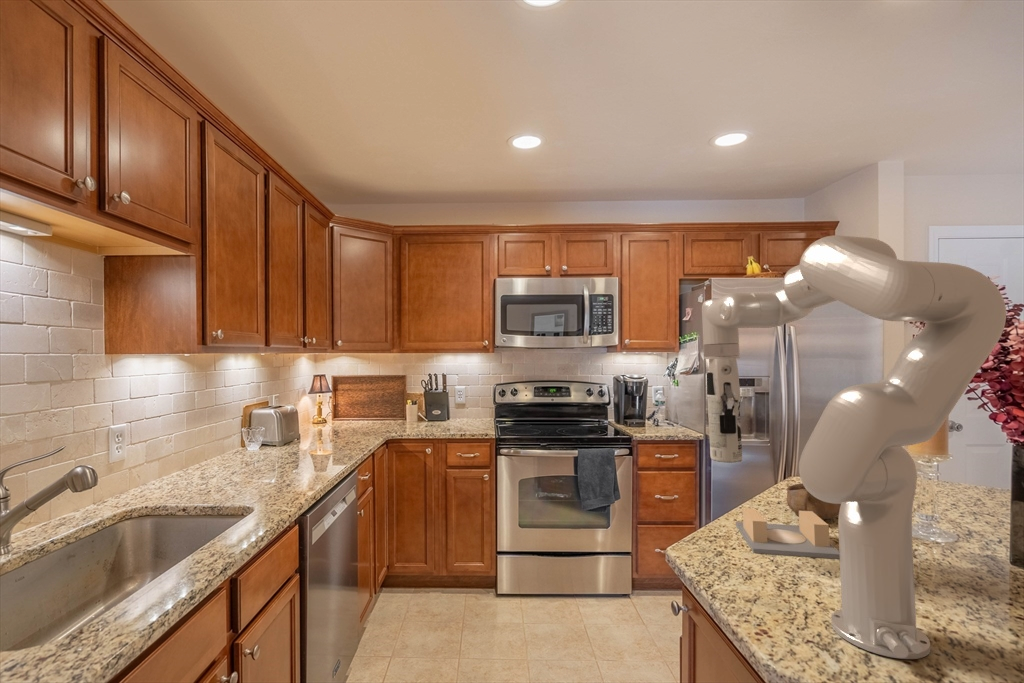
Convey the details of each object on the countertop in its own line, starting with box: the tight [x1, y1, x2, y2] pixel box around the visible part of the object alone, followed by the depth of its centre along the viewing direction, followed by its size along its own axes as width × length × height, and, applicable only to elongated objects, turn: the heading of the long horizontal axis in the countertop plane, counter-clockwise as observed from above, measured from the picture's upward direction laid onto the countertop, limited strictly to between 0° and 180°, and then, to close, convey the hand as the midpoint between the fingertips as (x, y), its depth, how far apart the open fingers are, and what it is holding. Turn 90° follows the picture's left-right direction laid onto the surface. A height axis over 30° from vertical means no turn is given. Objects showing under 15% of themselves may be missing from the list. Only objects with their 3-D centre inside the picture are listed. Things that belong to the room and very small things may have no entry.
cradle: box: [735, 507, 840, 560], centre depth 116 cm, size 18×18×6 cm
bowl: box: [786, 482, 841, 521], centre depth 131 cm, size 18×14×10 cm
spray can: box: [706, 372, 743, 464], centre depth 108 cm, size 7×7×20 cm
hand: (724, 430), depth 108 cm, fingers closed on spray can, 6 cm apart
